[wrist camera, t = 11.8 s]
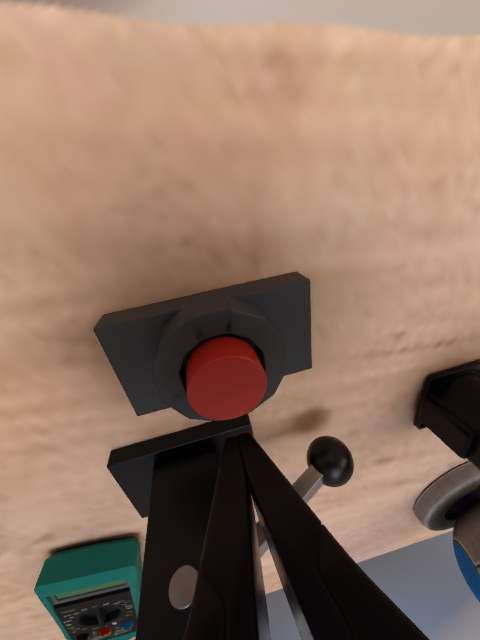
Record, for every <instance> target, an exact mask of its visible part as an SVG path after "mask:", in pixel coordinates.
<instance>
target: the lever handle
mask: <svg viewBox="0 0 480 640" xmlns="http://www.w3.org/2000/svg"><path fill="white" fill-rule="evenodd" d="M307 464H308V467H309V468H308V469H307V470H306V471H305V472H304V473H303V474H302V475H301V476H300V477H299V478H298V479H297V480H296V482H295V483H294V484H293V485H292V486H293V487H294V489H295V490H296V491H297V492H298V494H299V495H300V496H301V497H302V499H303V500H304V501H305V502H306V504H307V502H308V501H309V500H310V499H311V498H312V496H313V495H314V494H315V493H316V492H317V491H318V489H319V488H320V487H321V486H322V485H323V484H324V485H326V486H330V487H339V486H342V485H344V484H345V483H347V482H348V481H349V480H350V478H351V476H352V474H353V469H354V463H353V458H352V455H351V453H350V451H349V449H348V448H347V447H346V445H345V444H344V443H343V442H341V441H340V440H338V439H336V438H334V437H331V436H322V437H318V438H316V439H315V440H314V441H313V442H312V443H311V444H310V446H309V448H308V451H307ZM256 529H257V536H258V544H259V551H260V558H261V557H262V555H263V554H264V553H265V552H266V551H267V549H268V548H269V546H268V544H267V541H266V538H265V535H264V532H263V529H262V527H261V524H260V521H258V522H257V523H256Z"/></svg>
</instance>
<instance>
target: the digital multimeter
mask: <svg viewBox="0 0 480 640" xmlns="http://www.w3.org/2000/svg"><path fill="white" fill-rule="evenodd" d="M141 582H142V570H141V561H140V548H139V542H138V541H137V540H136V539H135V538H127V539H120V540H113V541H107V542H102V543H97V544H92V545H87V546H82V547H78V548H74V549H69V550H66V551H62V552H58V553H55V554H53V555H52V556H50V557H49V558H48V559H46V560H45V562H44V565H43V567H42V570H41V573H40V575H39V578H38V581H37V583H36V586H35V588H34V591H35V593H36V594H37V596H38V598H39V599H40V601H41V602H42V603H43V605H44V606H45V607H46V609H47V610H48V611H49V613H50V614H51V616H52V617H53V618H54V620H55V621H56V623H57V624H58V626H59V627H60V629H61V630H62V632H63V634H64V636H65V637H66V639H67V640H129V639H131V638H133V637H135V636H136V629H137V620H138V610H139V601H140V591H141Z"/></svg>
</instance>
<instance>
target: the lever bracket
mask: <svg viewBox="0 0 480 640" xmlns="http://www.w3.org/2000/svg"><path fill="white" fill-rule="evenodd" d="M246 431H248V432H249V433H250V434H251V435H252V436H253V433H252V428H251V423H250V420H249V417H248V414H244V415H242V416H240V417H237V418H233V419H228V420H222V421H214V422H211V423H207V424H204V425H200V426H197V427H193V428H190V429H186V430H183V431H180V432H176V433H173V434H169V435H166V436H162V437H159V438H155V439H152V440H148V441H145V442H142V443H138V444H135V445H131V446H128V447H124V448H121V449H117V450H114V451H111V453H110V457H109V460H108V464H107V468H108V470H109V471H110V472H111V474H112V475H113V477H114V478H115V480H116V481H117V483H118V484H119V485H120V487H121V488H122V490H123V491H124V493H125V494H126V495H127V497H128V498H129V500H130V501H131V503H132V504H133V505H134V507H135V508H136V510H137V511H138V513H139V514H140V516H141V517H142V518H145V517H148V525H147V534H146V544H145V553H144V563H143V572H142V582H141V591H140V601H139V610H138V620H137V629H136V639H135V640H183V638H184V634H185V630H186V626H187V622H188V618H189V613H190V609H191V604H192V600H193V595H194V591H195V586H196V581H197V576H198V571H199V569H200V568H201V567H200V561H201V556H202V551H203V546H204V541H205V536H206V531H207V526H208V521H209V516H210V511H211V506H212V501H213V495H214V490H215V485H216V480H217V475H218V470H219V465H220V460H221V455H222V450H223V445H224V440H225V438H226V437H229V436H232V435H236V436H237V435H238V434H239V433H242V432H246ZM238 443H239V442H238ZM239 447H240V446H239ZM245 472H246V471H245ZM246 476H247V475H246Z"/></svg>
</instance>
